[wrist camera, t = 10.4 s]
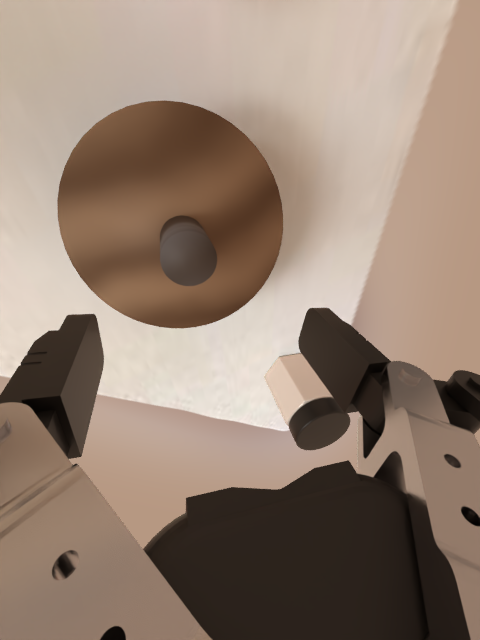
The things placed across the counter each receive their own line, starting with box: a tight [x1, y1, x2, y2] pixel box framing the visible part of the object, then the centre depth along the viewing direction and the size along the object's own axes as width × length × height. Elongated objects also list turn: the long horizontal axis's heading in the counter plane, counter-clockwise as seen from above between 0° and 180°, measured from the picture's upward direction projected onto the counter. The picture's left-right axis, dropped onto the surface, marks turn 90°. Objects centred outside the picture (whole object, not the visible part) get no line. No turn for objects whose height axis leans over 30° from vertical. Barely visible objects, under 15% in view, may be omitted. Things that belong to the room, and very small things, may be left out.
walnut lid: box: [58, 101, 283, 328], centre depth 19 cm, size 17×17×6 cm
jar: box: [264, 353, 350, 450], centre depth 40 cm, size 9×8×12 cm
